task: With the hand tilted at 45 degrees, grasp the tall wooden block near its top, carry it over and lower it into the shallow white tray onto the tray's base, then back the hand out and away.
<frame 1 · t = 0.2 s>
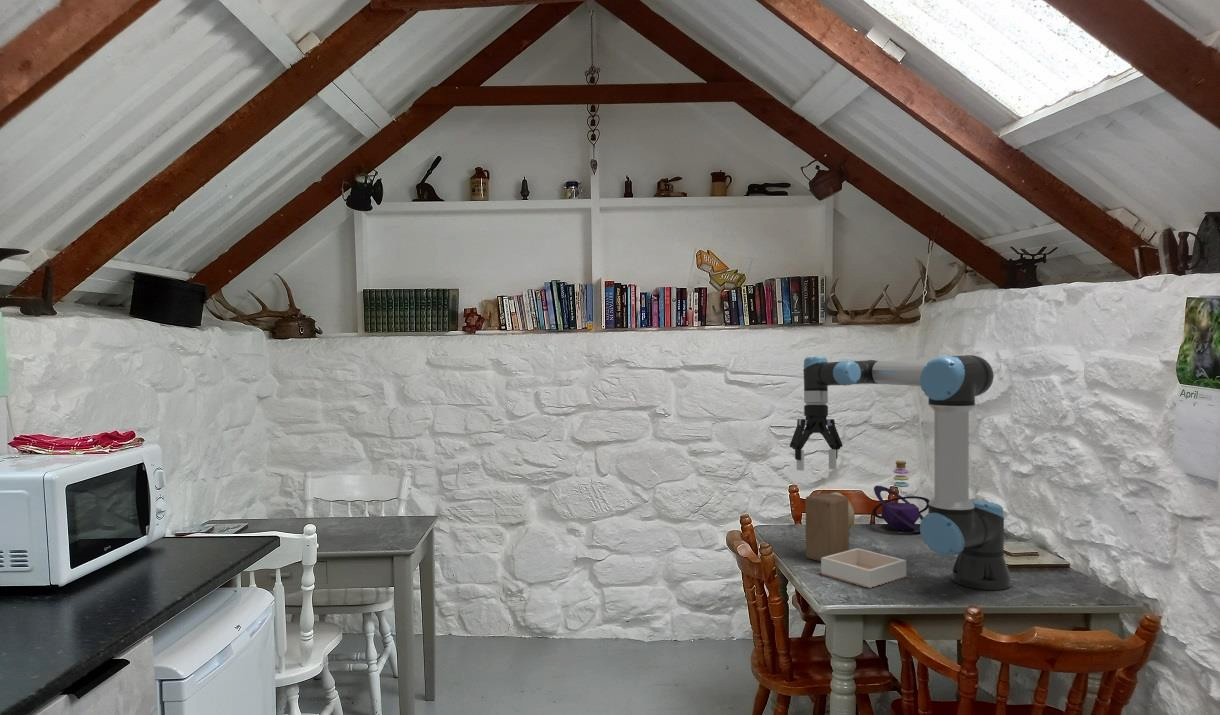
hand: (816, 469, 249), 27 cm above the table, tool pointing down, fingers open, 13 cm apart
fossilized egg: (836, 534, 275), on the table
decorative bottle: (901, 529, 280), on the table
wooden block: (827, 559, 245), on the table
shallow white tray: (863, 575, 226), on the table
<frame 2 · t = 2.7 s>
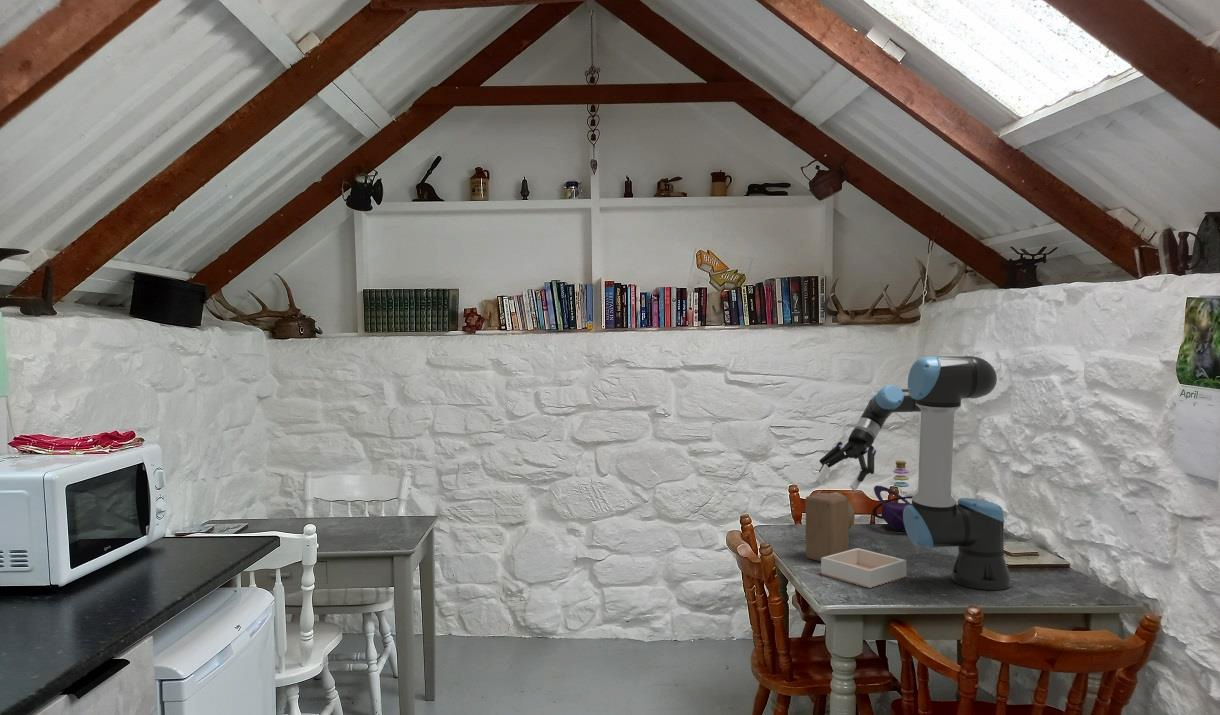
hand: (834, 485, 248), 23 cm above the table, tool tilted 45°, fingers open, 13 cm apart
nothing on the table moved.
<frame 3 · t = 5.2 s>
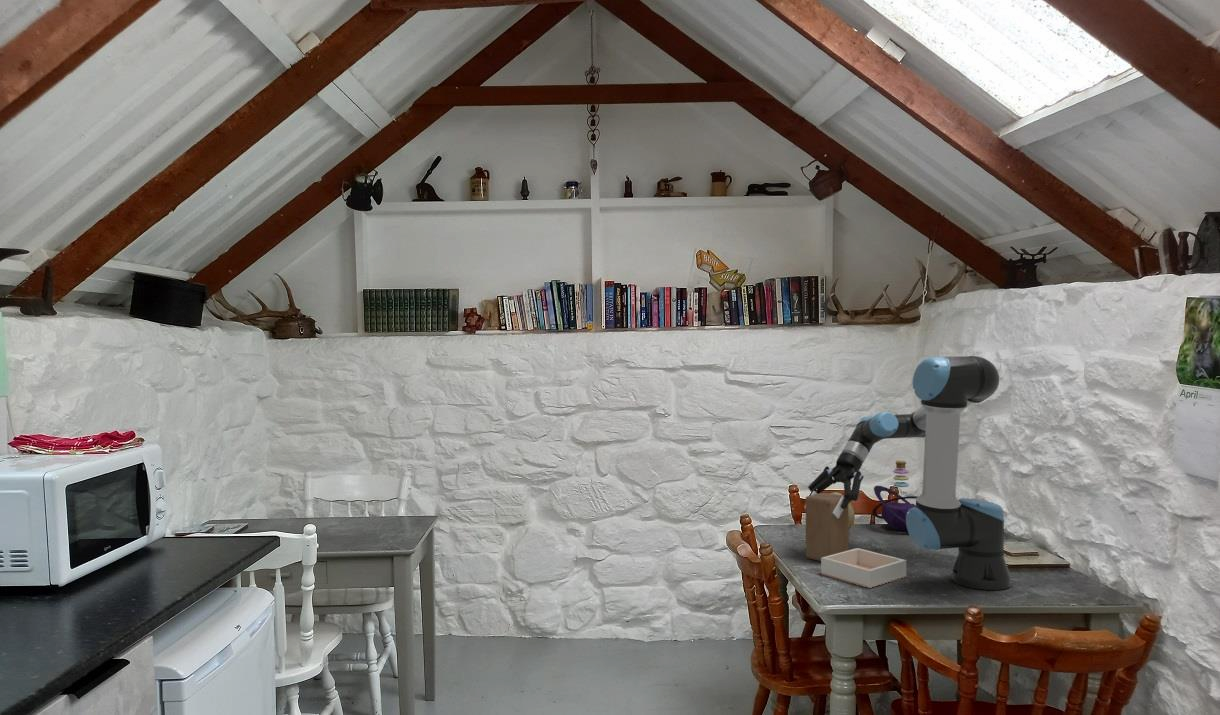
hand: (820, 512, 242), 15 cm above the table, tool tilted 45°, fingers closed on wooden block, 10 cm apart
wooden block: (827, 559, 244), on the table, touching gripper
everything else where it was.
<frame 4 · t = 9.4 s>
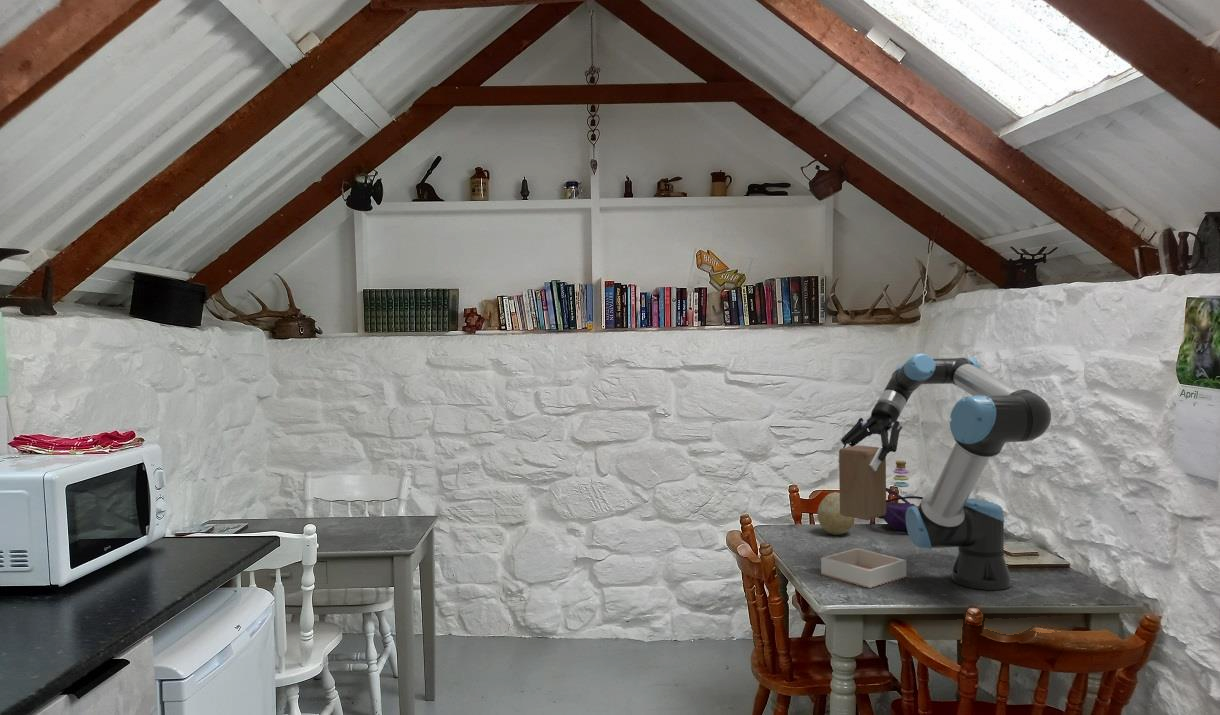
hand: (856, 465, 224), 33 cm above the table, tool tilted 45°, fingers closed on wooden block, 10 cm apart
wooden block: (863, 516, 226), point 18 cm above the table, touching gripper
everything else where it was.
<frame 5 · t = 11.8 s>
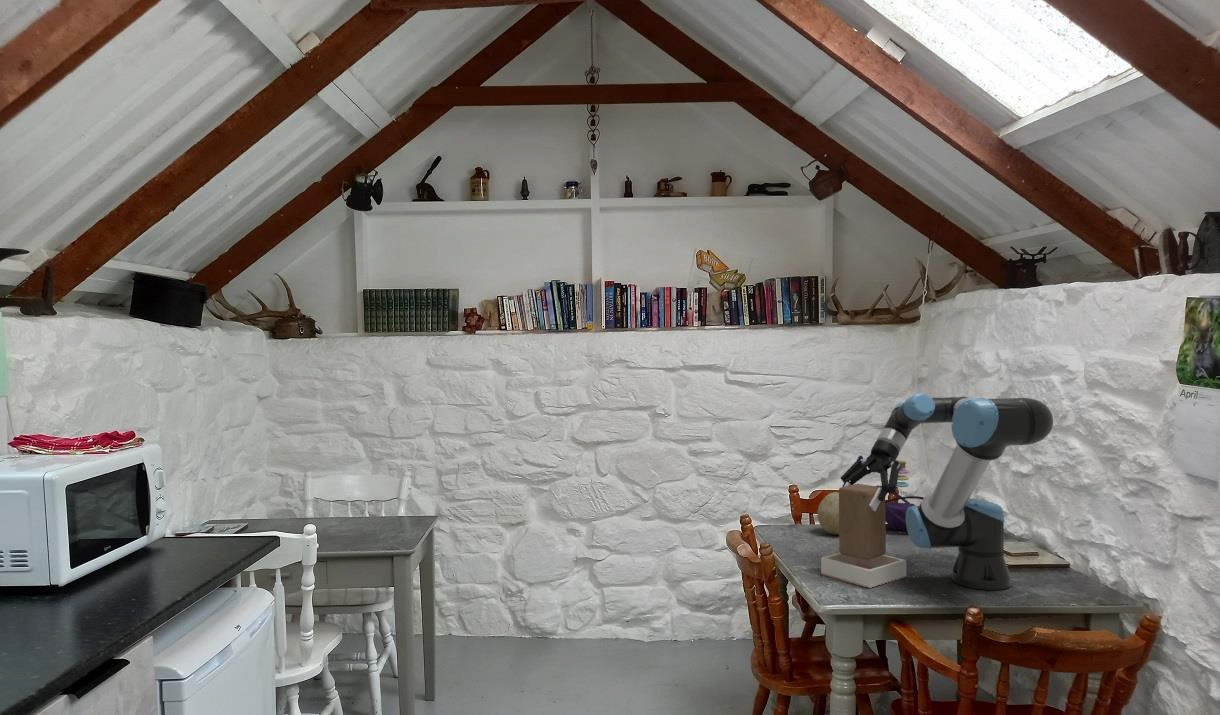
hand: (855, 505, 225), 21 cm above the table, tool tilted 45°, fingers closed on wooden block, 10 cm apart
wooden block: (862, 555, 227), point 6 cm above the table, touching gripper
everything else where it was.
when the fingers open (17 cm above the table, at t = 13.6 s): wooden block drops 1 cm, resting on shallow white tray.
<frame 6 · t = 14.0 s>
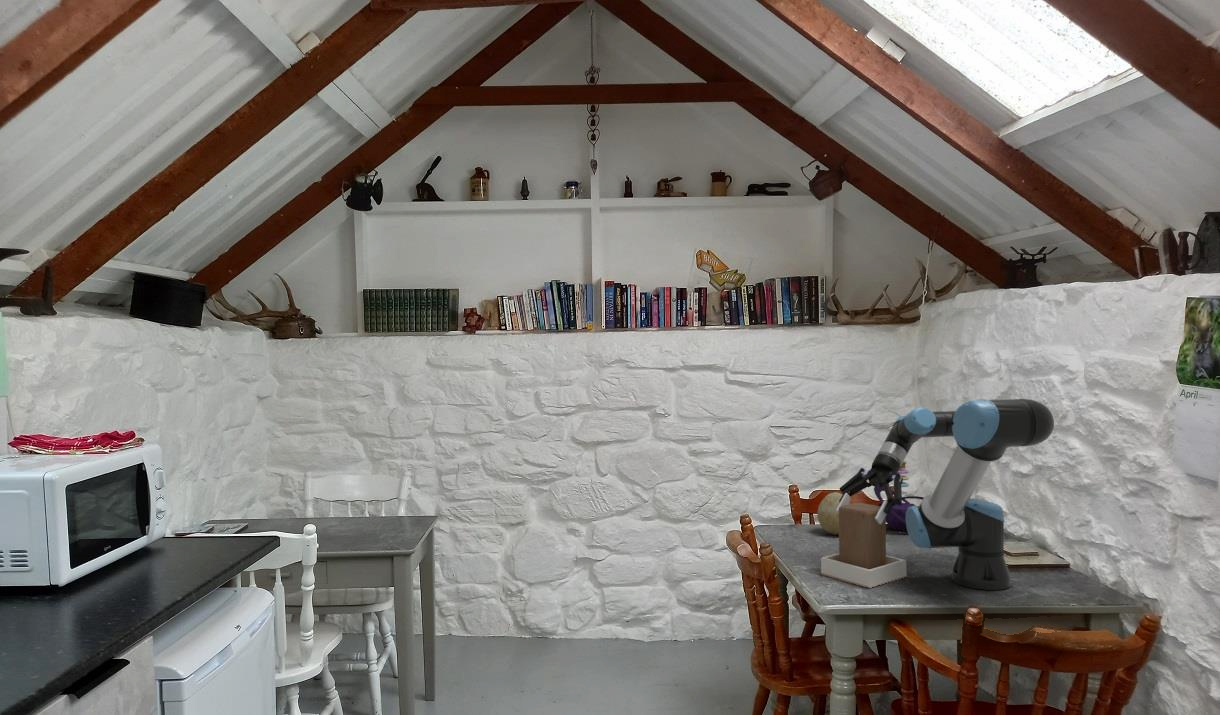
hand: (857, 517, 225), 18 cm above the table, tool tilted 45°, fingers open, 13 cm apart
wooden block: (862, 574, 227), resting on shallow white tray
everything else where it was.
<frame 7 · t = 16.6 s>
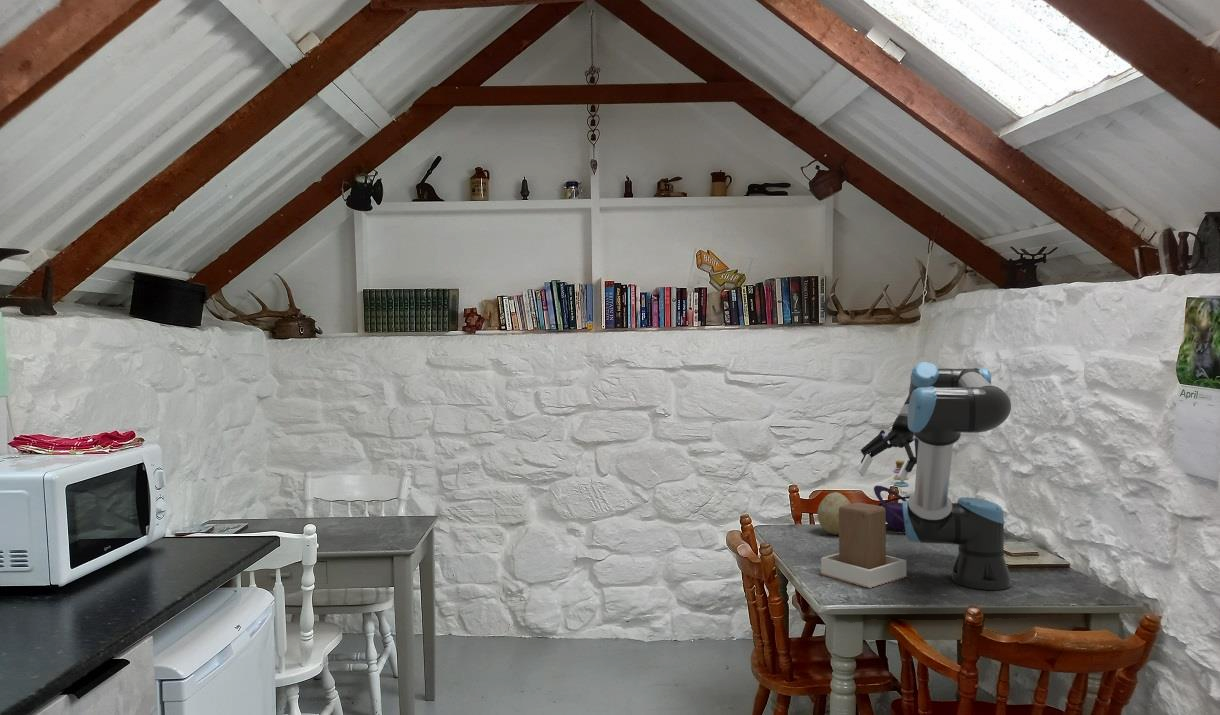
hand: (879, 476, 231), 28 cm above the table, tool tilted 45°, fingers open, 13 cm apart
nothing on the table moved.
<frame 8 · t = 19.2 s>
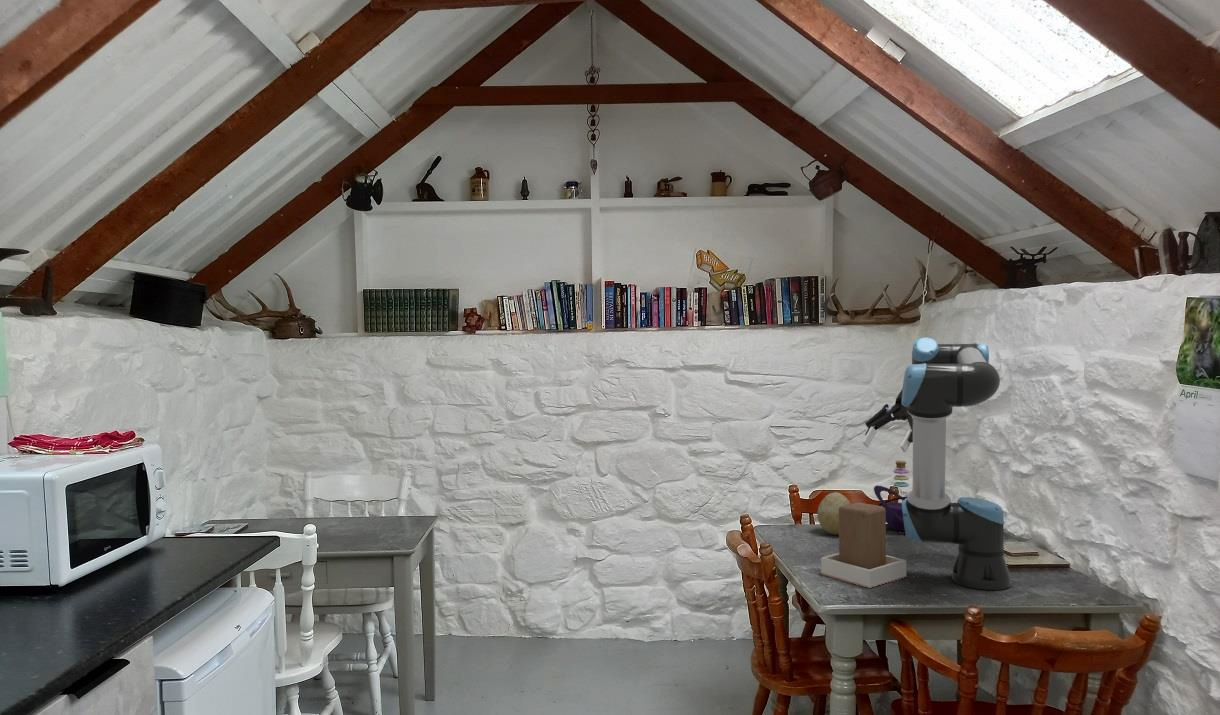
hand: (883, 447, 241), 36 cm above the table, tool tilted 45°, fingers open, 13 cm apart
nothing on the table moved.
at the end: wooden block 0.4 cm off-centre on the shallow white tray, point 0.3 cm above the shallow white tray's base; wooden block tilted 0°; the gripper is holding nothing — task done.
